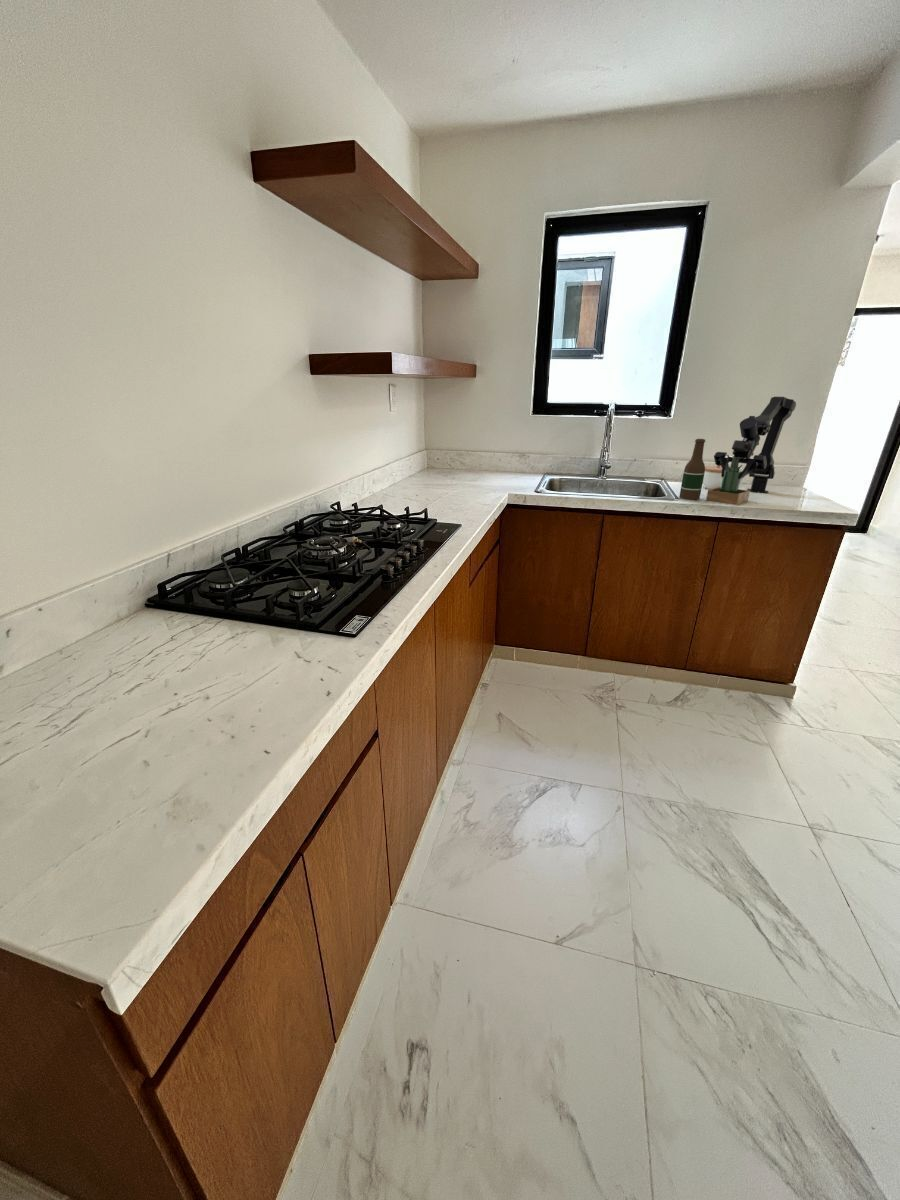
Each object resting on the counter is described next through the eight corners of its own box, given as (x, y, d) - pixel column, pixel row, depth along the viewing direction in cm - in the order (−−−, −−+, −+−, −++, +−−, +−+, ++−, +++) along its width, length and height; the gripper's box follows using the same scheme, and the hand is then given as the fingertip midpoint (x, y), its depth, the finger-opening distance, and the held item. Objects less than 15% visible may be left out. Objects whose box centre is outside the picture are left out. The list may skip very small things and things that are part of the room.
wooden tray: (717, 497, 211) (719, 486, 209) (747, 501, 203) (749, 490, 201) (705, 501, 204) (708, 490, 202) (736, 505, 196) (738, 494, 194)
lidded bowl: (734, 490, 225) (740, 465, 221) (706, 490, 225) (711, 465, 221) (721, 485, 237) (726, 461, 233) (694, 485, 237) (698, 461, 233)
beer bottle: (698, 498, 209) (710, 438, 200) (700, 501, 203) (712, 440, 193) (678, 496, 212) (689, 437, 202) (679, 500, 205) (690, 439, 196)
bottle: (716, 494, 206) (724, 456, 200) (733, 494, 205) (741, 457, 199) (722, 497, 200) (730, 458, 194) (739, 497, 199) (748, 459, 193)
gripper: (720, 431, 202) (703, 461, 200) (771, 434, 189) (753, 466, 187) (724, 449, 210) (707, 479, 207) (773, 453, 197) (756, 485, 195)
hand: (730, 477), depth 199 cm, fingers closed on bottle, 6 cm apart
